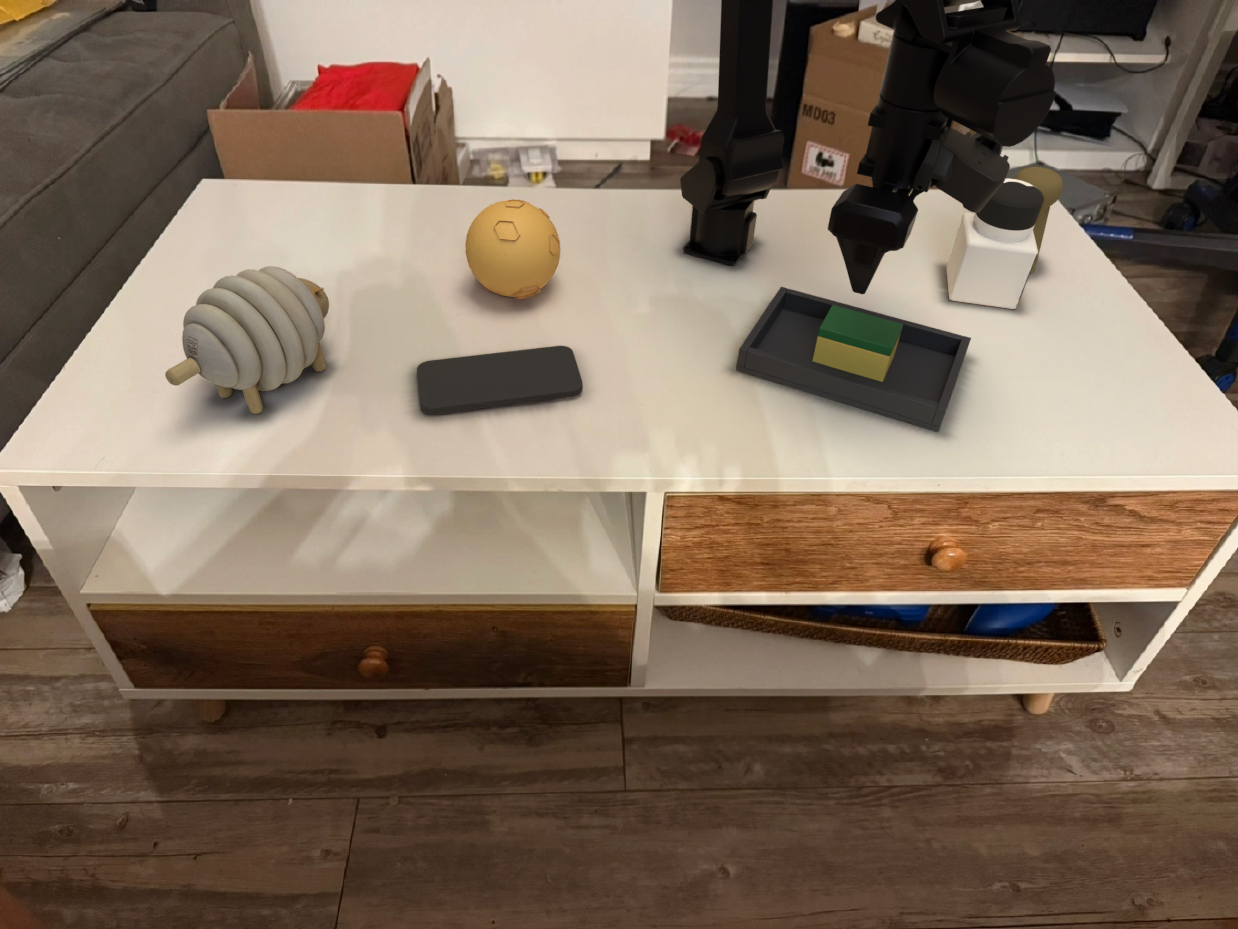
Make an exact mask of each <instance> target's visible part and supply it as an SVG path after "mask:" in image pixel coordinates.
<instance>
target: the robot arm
mask: <svg viewBox="0 0 1238 929" xmlns="http://www.w3.org/2000/svg"><path fill="white" fill-rule="evenodd" d="M977 2H980V3H981V5H982V6H981V7H975V8H970V9H964V10H958V11H951V12H946V9H945V8H949V7H950V8H951V7H957V6H962V5H968V4H975V3H977ZM773 8H774V0H721V1H720V25H719V26H720V27H719V28H720V31H719V59H718V82H717V83H718V85H717V88H718V89H717V108H716V111H715V113H714V115H713V116H712V118H711V120H710V121H709V123H708V125H707V126H706V128H705V131H704V132H703V134H702V136H701V139H700V140H701V141H700V148H699V155H698V162H696V163H695V164H694V165H693V166H692V167H691V168H689V169H688V171H686V172H685V173H684V174H683V175H681V177H680V179H679V182H680V191H681V197H682V199H684V200H685V201H686V202H688V203H689V204H690V205H691V206H692V207H691V219H690V230H689V240H688V242H687V243H686V244H685V245H684V246H683V250H682V251H683V253H684V254H689V255H692V256H696V257H699V258H704V259H707V260H710V261H715V262H719V263H722V264H726V265H729V266H735V265H737V263H739V261H740V260H741V259H742V257H743V256H745V255H746V254H747V253H748V252H749V250H750V249H751V248H752V247H753V245H754V239H755V232H756V224H757V217H758V216H757V215H758V214H757V212H754V208H755V207H754V206H755V201H758V200H759V201H760V200H765V199H767V198H768V196H769V193H770V191H771V189H772V187H773V185H774V184H777V181H778V178H779V175H780V171H781V170H784V164H783V149H784V143H785V134H784V132H783V130H781V129H776V127H775V126H774V124H773V122H772V120H771V118H770V115H769V114H768V112H767V100H768V83H769V69H770V54H771V40H772V23H773V11H774V10H773ZM875 21H876V22H877V23H878V24H880V25H883V26H885V27H887V28H889V29H891V30H892V31H893V32H892V37H891V42H890V46H889V51H888V55H887V60H886V64H885V69H884V72H883V76H882V77H883V78H882V81H881V86H880V90H879V94H878V99H877V102H876V103H877V104H876V105H875V106H874V107H873V109H872V110H871V112H870V113H869V118H868V122H867V126H868V127H871V130H870V133H869V138H868V142H867V148H866V151H865V153H864V155H863V156H862V158H861V159H860V161H859V164H858V167H857V172H856V174H857V175H861V176H865V177H869V178H871V179H870V180H871V183H872V186H869V185H864V184H860V183H854V184H853V185H852V186H850V187H848V188H847V189H845V190H843V191H842V193H841V194H840V195H839V197H838V199H837V200H836V201H835V203H834V204H833V206H832V207H831V210H830V214H829V218H828V225H827V230H828V232H830V233H831V234H832V236H833V237H835V238H836V240H837V244H838V246H839V250H840V253H841V255H842V258H843V262H844V265H845V268H846V273H847V276H848V280H849V283H850V288H851V291H852V292H853V293H856V294H860V295H865V294H866V292H867V291H868V289H869V286H870V284H871V282H872V281H873V279H874V276H875V274H876V273H877V270H878V269H879V266H880V264H881V262H882V260H883V258H884V257H885V254H886V253H888V252H897V251H900V250H902V249H904V248H905V245H906V244H907V242H908V239H909V238H910V236H911V234H912V231H913V227H914V225H915V222H916V219H917V215H918V213H919V212H918V211H919V208H918V206H917V205H916V204H915V198H917V196H919V195H921V194H923V193H928V192H929V190H930V189H931V188H932V187H936V188H937V189H938V190H940V191H941V192H942V193H945V194H946V195H948V196H949V197H950V198H952V199H954V200H956V201H957V202H958V203H960V204H962V207H963V208H964V209H966V210H967V211H968V212H970V213H978V212H980V211H981V209H982V208H983V207H984V206H985V205H986V203H987V202H988V201H989V200H990V198H991V197H992V196H993V195H994V193H995V192H996V191H997V190H998V189H999V187H1000V186H1001V185H1002V184H1003V182H1004V181H1005V179H1007V175H1008V173H1009V172H1010V171H1009V170H1010V168H1011V165H1010V162H1009V161H1008V160H1009V157H1010V156H1008V155H1006V154H1003V156H1002V152H1003V148H1004V147H1007V148H1010V147H1015V146H1017V145H1018V144H1021V143H1023V142H1024V141H1025V140H1027V139H1028V138H1029V137H1030V136H1032V134H1033V133H1035V131H1036V130H1038V128H1039V126H1041V124H1042V123H1043V122H1044V121H1045V118H1046V117H1047V115H1048V114H1049V112H1050V110H1051V108H1052V106H1053V104H1054V101H1055V98H1056V95H1057V92H1056V90H1055V86H1056V78H1055V73H1054V71H1053V69H1052V68H1051V67H1050V66H1049V65H1048V64H1047V63H1048V61H1049V58H1050V56H1051V55H1050V54H1051V51H1052V48H1051V45H1050V44H1047V43H1044V42H1043V41H1039V40H1035V39H1026V38H1024V37H1021V36H1019V35H1016V34H1014V33H1011V32H1012V31H1017V30H1018V29H1020V27H1021V24H1022V21H1021V17H1020V11H1019V1H1018V0H894V1H893V2H891V3H890V4H889V5H888V6H886V7H883V9H881V10H879V11H878V12H877V13H876V14H875ZM954 122H955V123H958V124H959V125H961V126H963V127H965V128H966V129H968V130H971V131H973V132H975V133H974V134H973V133H971V132H970V131H967V132H966V133H965V134H964V133H962V132H960V131H958V130H956V129H955V128H953V126H954Z"/></svg>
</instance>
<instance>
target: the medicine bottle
mask: <svg viewBox="0 0 1238 929" xmlns="http://www.w3.org/2000/svg"><path fill="white" fill-rule="evenodd" d="M1043 202H1044V196H1043V194H1042V192H1041V191H1040V190H1039V189H1038V188H1036V187H1035V186H1033V185H1031V184H1029V183H1027V182H1024V181H1021V180H1016V179H1013V178H1005V181H1004V182H1003V184H1002V185H1001V186H1000V187H999V189H998V190H997V191H996V192H995V193H994V195H993V196H992V197H991V198H990V200H989V201H988V202H987V203H986V205H985V206H984V207H983V208H982V209H981V211H980V212H978V213H973V212H970V211H968V212H967V211H966V212H964V213H963V214H962V216H961V220H960V222H959V225H958V226H959V227H958V228H957V232H956V236H955V239H954V242H953V245H952V248H951V251H950V254H949V257H948V261H947V263H946V266H945V269H946V280H947V292H948V299H949V300H950V301H952V302H961V303H967V304H974V305H981V306H988V307H996V308H1001V309H1002V308H1003V309H1011V310H1015V309H1017V307H1018V305H1019V303H1020V300H1021V297H1022V295H1023V293H1024V290H1025V288H1026V285H1027V282H1028V280H1029V277H1030V275H1031V274H1030V272H1031V270H1032V267H1033V265H1034V262H1035V260H1036V257H1037V255H1038V249H1037V245H1036V241H1035V237H1034V232H1033V228H1034V226H1035V223H1036V221H1037V218H1038V215H1039V213H1040V210H1041V207H1042V205H1043Z"/></svg>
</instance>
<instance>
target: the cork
mask: <svg viewBox="0 0 1238 929" xmlns="http://www.w3.org/2000/svg"><path fill="white" fill-rule="evenodd" d="M1012 179H1016V180H1021V181H1024V182H1027V183H1029V184H1031V185H1033V186H1035V187H1036V188H1038V189H1039V190H1040V191H1041V192H1042V194H1043V196H1044V202H1043V205H1042V207H1041V210H1040V213H1039V215H1038V218H1037V221H1036V223H1035V226H1034V228H1033V232H1034V237H1035V241H1036V245H1037V249H1038V255H1037V257H1036V260H1035V262H1034V265H1033V267H1032V270H1031V272H1030V275H1032V274H1033V273H1034V272H1036V269H1037V264H1038V259H1039V255H1040V251H1041V247H1042V244H1043V239H1044V234H1045V231H1046V226H1047V222H1048V217H1049V213H1050V209H1051V206H1053V205H1054V204H1055V203H1056V202H1058V200H1059V199H1060V197H1061V195H1062V193H1063V190H1064V182H1063V181H1064V180H1063V178H1062V176H1061V175H1060V174H1059V173H1057V172H1056V171H1054V170H1052V169H1050V168H1047V167H1043V166H1028V167H1024V168H1022V169H1020V170H1019V171H1018V172H1017V173H1016V174H1015V175H1014V177H1013V178H1012Z"/></svg>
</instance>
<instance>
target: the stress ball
mask: <svg viewBox="0 0 1238 929" xmlns="http://www.w3.org/2000/svg"><path fill="white" fill-rule="evenodd" d="M550 218H551V216H550V215H549V214H548V213H547V212H546V211H545V210H544V209H543V208H541V207H540V208H539V207H537V206H535V205H534V204H531V203H530V202H528V201H526V200H523V199H522V200H521V199H514V198H513V199H506V200H501V201H497V202H495V203H492V204H489V205H488V206H486V207H485V208H484V209H482V210H481V211H480V212H479V213H478V214H477V215H476V216H475V217H474V219H473V220H472V222H471V224H470V225H469V227H468V231H467V233H466V237H465V245H464V246H465V257H466V261H467V264H468V267H469V269H470V271H471V273H472V274H473V276H474V277H475V279H476V280H477V281H478V282H479V283H480V284H481V285H482V286H483V287H484V288H486V289H487V290H489V291H490V292H492V293H495V294H497V295H500V296H503V297H507V298H508V297H509V298H514V299H515V300H524V299H528V298H532V297H533V296H536V295H538V294H539V293H540V292H541V289H543V287H544V286H546V285H547V284H548V283H549V282H550V281H551V279H552V278H553V277H554V275H555V273H556V271H557V268H558V266H559V263H560V258H561V240H560V237H559V232H558V230H557V229H556V227H555V224H554V222H553V221H552V220H551V219H550Z"/></svg>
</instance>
